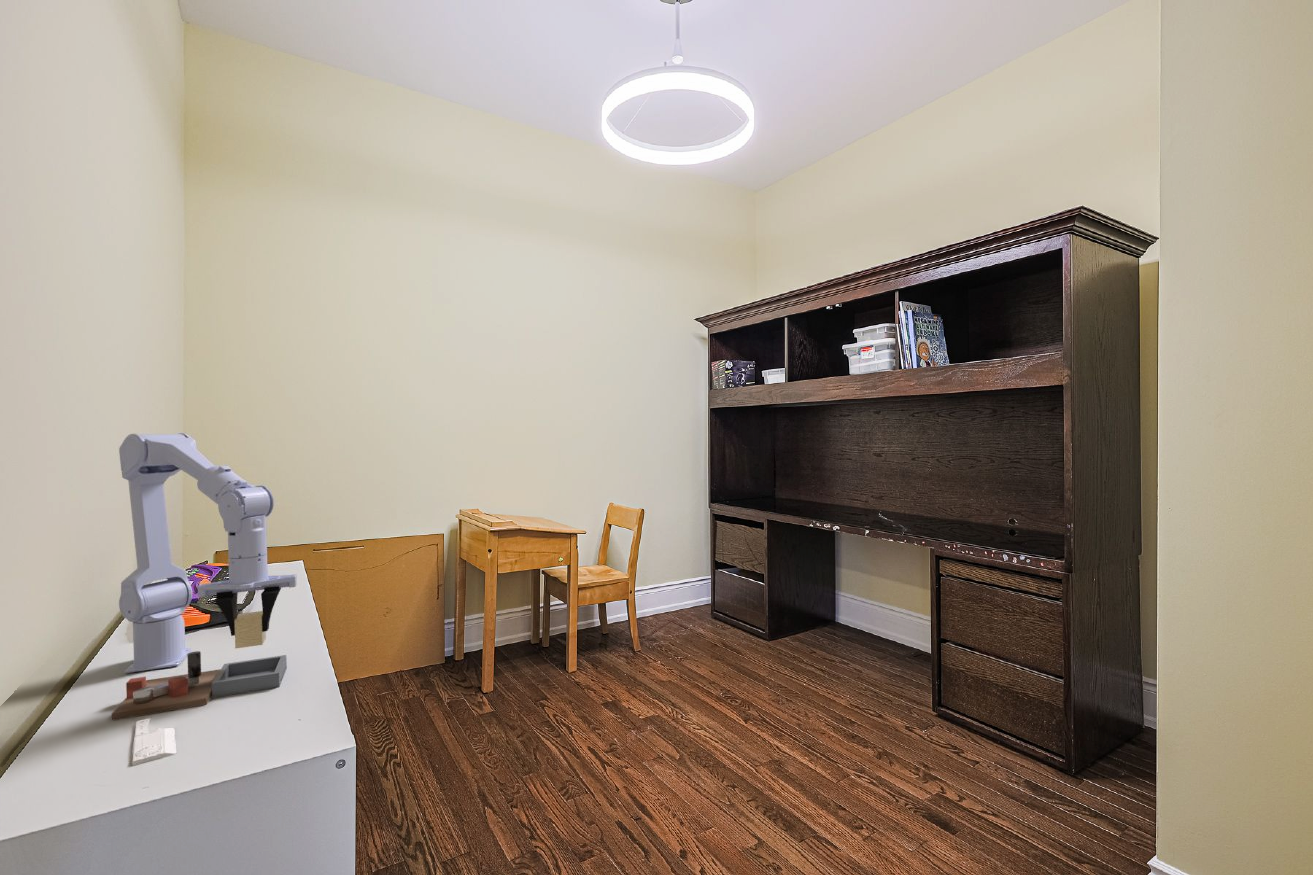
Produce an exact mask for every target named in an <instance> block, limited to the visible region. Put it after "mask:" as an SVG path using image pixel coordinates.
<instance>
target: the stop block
mask: <svg viewBox="0 0 1313 875" xmlns="http://www.w3.org/2000/svg"><path fill="white" fill-rule="evenodd" d="M262 621H263V610H260V611H259V610H258V611H252V612H243V613H237V617H236V618H235V635H234V644H235V645H234V646H235V647H234V649H243V648H249V647H256V646H257V647H258V646H263V645H264V643H265V640H266V639H267V635H266V634H267V631H264V632H263V629H262Z"/></svg>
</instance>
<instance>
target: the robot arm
mask: <svg viewBox="0 0 1313 875" xmlns="http://www.w3.org/2000/svg"><path fill="white" fill-rule="evenodd" d="M197 448H198V447H197V442H196V439H194V438H192V437H191V435H189V434H187V433H186V432H185V433H184V432H179V433H150V434H149V433H146V434H145V433H143V434H139V433H130V434H128V435H127V436H126V437H125V438H124V440H123V441H122V443H121V444H120V446H119V447H118V449H119V450H118V452H119V454H118V455H119V462H120V470H121V477H122V479H124V480H126V481H128V489H129V490H128V491H129V498H130V499H129V500H130V509H131V518H132V527H133V528H132V529H133V538H134V539H133V540H134V548H135V558H136V566H137V568H136V569H135V570H134V571H132V572H131V573H130V574H129V575H128V576H126V577H125V578H124V579H123V580H122V581H121V583H120V596H119V599H118V607H119V611H120V614H121V615H122V616H123V618H125V620H127V621H128V622H129V623H130V622H131V623H132V638H133V639H132V642H133V644H132V645H133V646H132V647H133V663H132V664H131V665H130V666H129V667H127V669H125V670H124V671H125V674H129V673H135V672H136V673H137V672H143V671H149V670H150V671H151V670H156V669H157V670H158V669H164V668H165V669H166V668H171V667H177V666H179V665H180V664H181V663H182V662H183V661H184V659H186V657H187V654H188V653H191V651H192V648H191V647H188V648H186V631H185V629H186V626H185V625H186V624H185V619H184V617H183V616H182V614H184V613H186V608H188V606H189V605H190V604H191V601H192V599H193V588H192V585H191V583H190V582H189V578H188V574H187V570H186V569H184V568H182V567H180V566H177V565H176V564H173V562H172V552H171V542H170V534H169V523H168V515H167V514H168V512H167V504H166V495H165V488H164V487H165V486H164V484H165V482H166V481H167V480H168V479H169V478H170V477H173V476H175V475H177V473H179V472H180V471H182V472H184V473H186V474H187V475H188V476H190V477H192V478H193V479H195V480H197V481H196V482H197V484H196V485H197V489H198V490H199V491H200V492H201V493H202V494H203V495H205V496H206V497H207V498H209V499H210V500H211V501H212V502H214V504H216V505H217V507H218V508H217V510H218V512H219V516H220V517H221V519H222V521H223V529H224V531H225V532H227V545H228V546H227V547H228V548H227V550H228V551H227V552H228V580H221V581H216V582H215V581H214V582H208V583H200V584H198V586H197V598H206V597H209V596H216V597H215V599H214V600H215V603H216V606H218V608H219V610H220V611H221V612H222V614H223V616H224V617H225V620H226V622H227V625H228V627H229V631H230V635H231V636H232V637H233V636H234V637H235V618H236V617H237V616H238V593H245V592H254V591H262V592H261V594H260V598H261V605H262V606H261V608H262V611H263V621H262V629H263V632H264V631H266V632H268V630H269V629H270V620H271V616H272V613H273V609H274V606H275V603H276V602H277V601H276V600H277V598H278V596H279V594H280V591H281V590H282V588H289V589H290V588H296V587H297V585H298V582H297V580H298V579H297V577H298V576H297V574H283V575H281V574H279V575H269V573H268V541H267V540H268V538H267V517H269V516H270V515H271V513H273V509H274V506H275V505H274V504H275V501H274V496H273V494H272V492H271V491H270V489H268V487H267V486H265V485H254V484H253V485H252V484H249V482H248V481H247V480H246V479H243V478H242V477H240V476H239V475H238V474H237V473H235V472H234V471H233V470H232V467H230V466H229V465H220V464H219V465H214V464H213V463H212V462H211V461H210V460H209V459H208V458H207V457H205V455H204V454H202V453H201V452H200V451H199V450H198V449H197ZM161 580H162V581H161ZM151 582H152V583H151Z"/></svg>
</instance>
